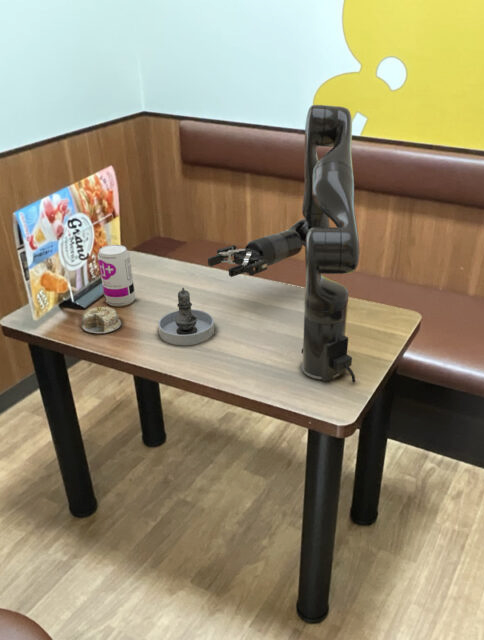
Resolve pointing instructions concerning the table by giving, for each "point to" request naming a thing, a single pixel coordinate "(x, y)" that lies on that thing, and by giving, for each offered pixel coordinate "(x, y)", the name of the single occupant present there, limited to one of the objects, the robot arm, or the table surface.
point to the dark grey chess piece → (185, 315)
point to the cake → (100, 320)
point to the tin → (170, 335)
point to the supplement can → (116, 275)
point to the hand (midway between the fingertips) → (219, 267)
